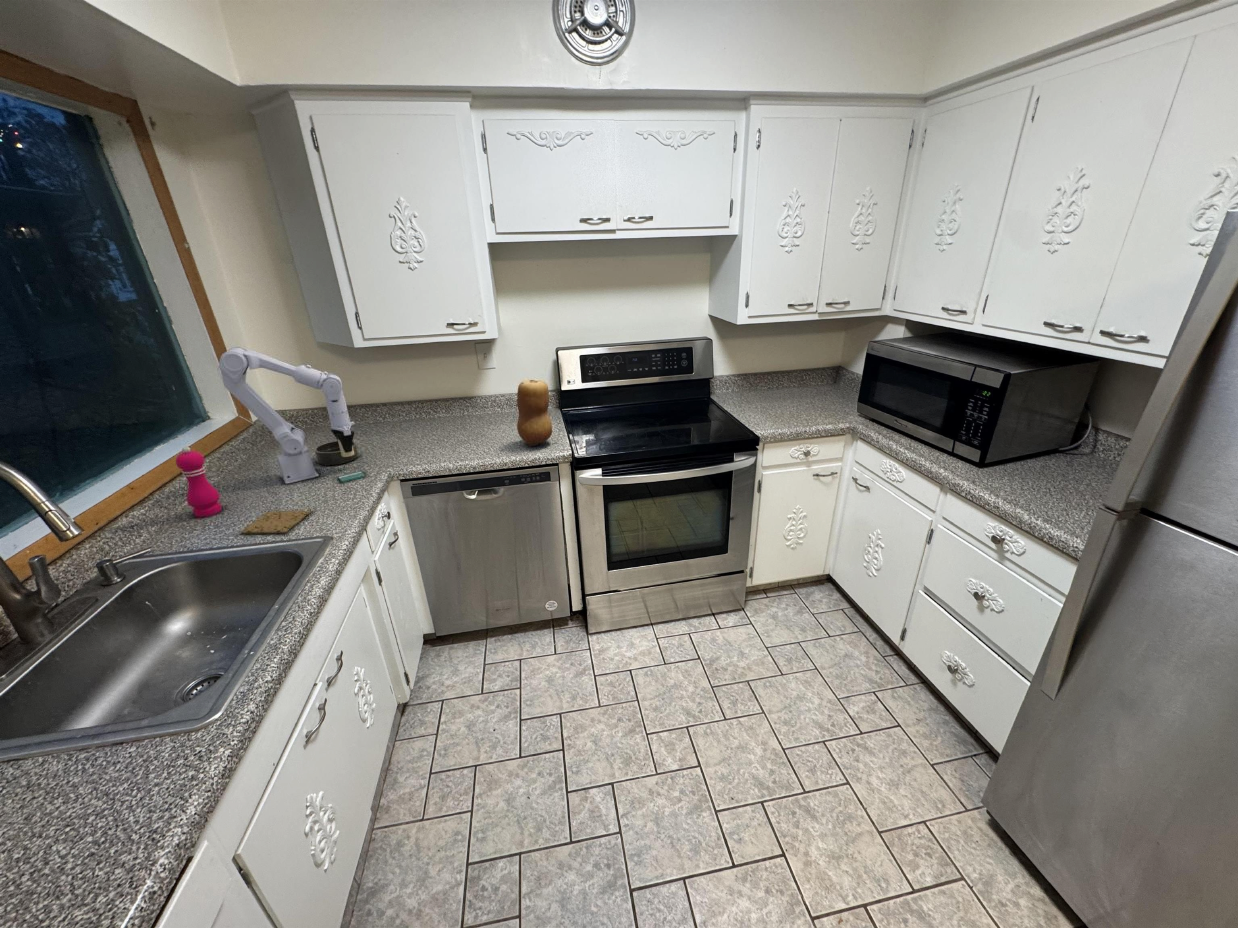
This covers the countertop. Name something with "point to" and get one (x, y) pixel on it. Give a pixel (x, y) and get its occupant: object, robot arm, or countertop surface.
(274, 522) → the brown square cork trivet
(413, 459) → the countertop surface
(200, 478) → the pepper mill
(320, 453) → the dark round bowl
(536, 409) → the butternut squash
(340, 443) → the spice jar
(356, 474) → the teal rectangular slab
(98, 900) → the countertop surface
